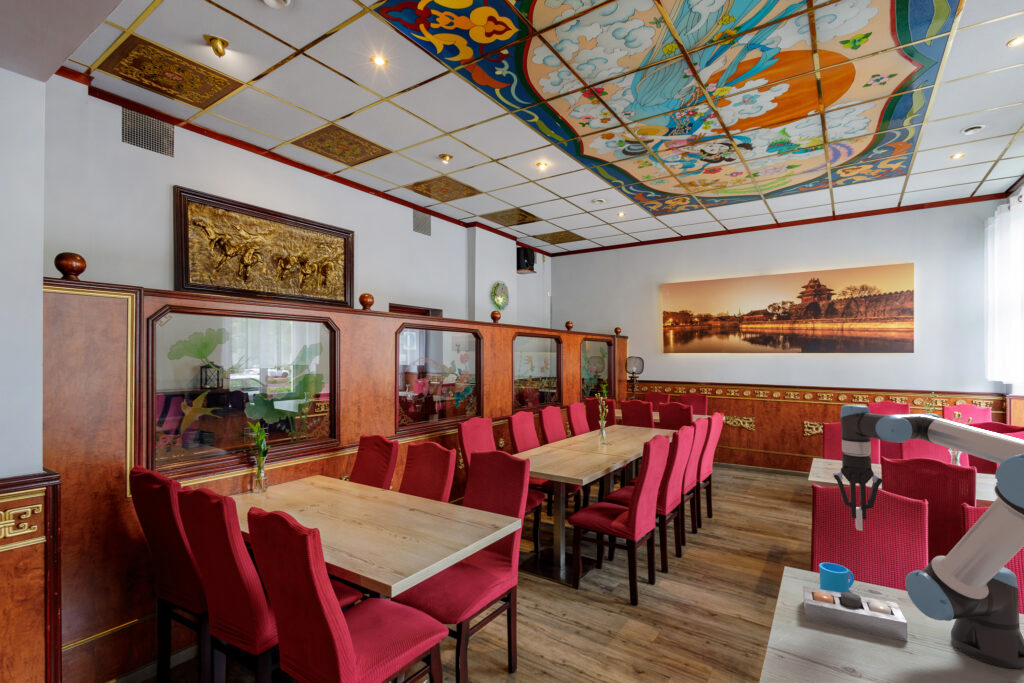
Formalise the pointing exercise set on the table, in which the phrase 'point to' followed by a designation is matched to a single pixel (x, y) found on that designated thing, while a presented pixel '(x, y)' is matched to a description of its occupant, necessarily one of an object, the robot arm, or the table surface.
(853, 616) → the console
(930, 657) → the table surface
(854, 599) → the button black
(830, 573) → the mug
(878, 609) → the button ivory
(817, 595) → the button terracotta
